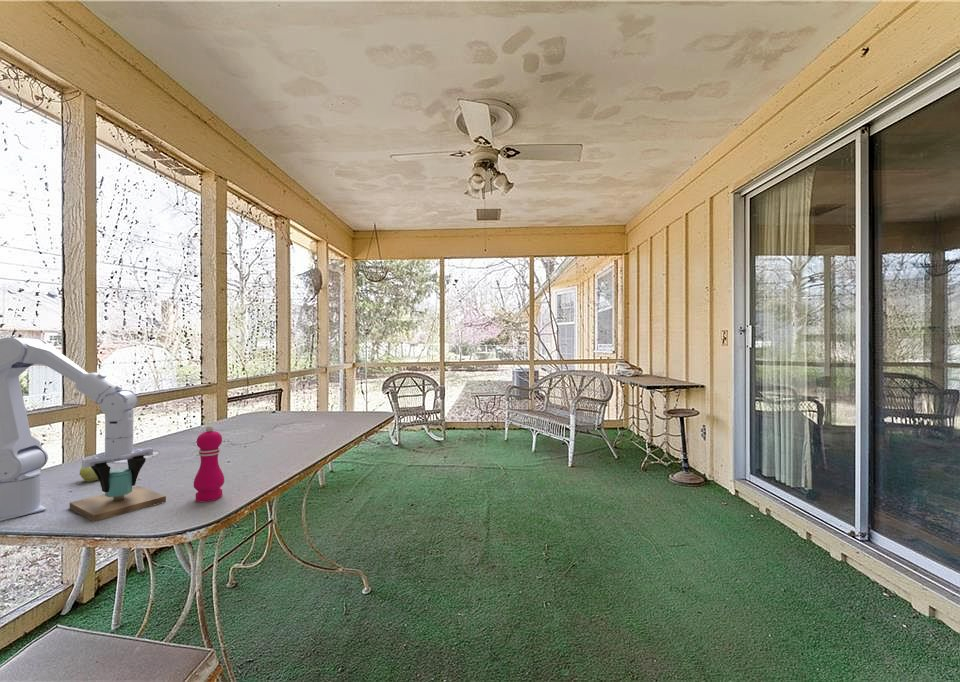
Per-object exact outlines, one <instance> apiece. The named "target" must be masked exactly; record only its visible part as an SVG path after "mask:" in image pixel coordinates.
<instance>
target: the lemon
mask: <svg viewBox="0 0 960 682" xmlns="http://www.w3.org/2000/svg"><path fill="white" fill-rule="evenodd" d="M79 476H80V477H81V478H82V480H84V481H86V482H87V483H88V482H94V481H99V479H98V477H97V475H96V474H95V472H94V471H93V469H92V468H91V466H90V467H87V468H84V467H82V466H81V468H80V470H79Z"/></svg>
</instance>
